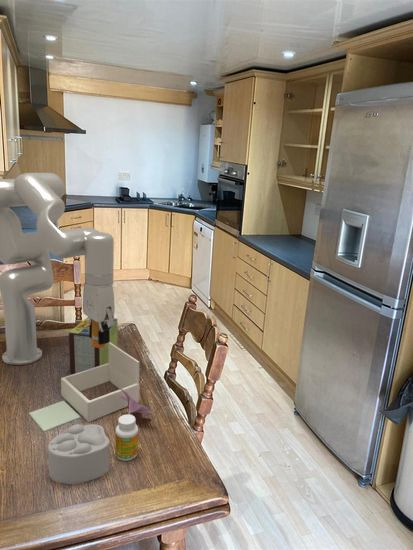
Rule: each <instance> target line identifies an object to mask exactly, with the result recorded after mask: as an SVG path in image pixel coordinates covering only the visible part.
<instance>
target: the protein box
mask: <svg viewBox="0 0 413 550" xmlns="http://www.w3.org/2000/svg"><path fill="white" fill-rule="evenodd" d="M113 320H114V323H115V325H114V326H112V327H111V330H110V341H109V343H112V344H113V345H115V346H116V347H118V340H119V339H118V332H119V331H118V327H119V325H118V321H119V319H118V318H115V317H114V319H113ZM88 321H89V318H88V316H87V317H86V318H84V320H82V321H80V322H79V323H78V324H77V325H76V326H74V327H73V328H72V329H71V330H70V331H69V332H68V342H69V343H68V346H69V347H68V348H69V349H68V350H69V351H68V352H69V367H70V368H69V372H70V373H69V376H70V375H73V374H76V373H79V372H82V371H85V370H89V369H92V368H95V367H98V366H101V365H104V364H107V363H109V350H108V343H106V345H105V346H104V347H103V348H96V347H92V338H90V337H89V322H88ZM118 348H119V347H118Z"/></svg>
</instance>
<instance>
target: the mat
mask: <svg viewBox="0 0 413 550" xmlns="http://www.w3.org/2000/svg"><path fill="white" fill-rule="evenodd" d="M28 415H29V416H30V418H32V420H33V421H34V423H36V424H37V426H38V427H39V428H40V429H41V431H42V432H43V433H46V432H48V431H51V430H53V429H56V428H59V427H60V426H64V425H66V424H68V423H72V422H74V421H76V420H79V419H81V416H80V415H79V414H78V413H77V412H76V411H75V410H74V408H72V406H71V405H70V404H68V403H67V401H65V400H61V401H58V402H56V403H53V404H50V405H47V406H45V407H42V408H39V409H36V410H34V411H30V412H28Z"/></svg>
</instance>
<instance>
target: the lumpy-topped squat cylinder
mask: <svg viewBox="0 0 413 550" xmlns="http://www.w3.org/2000/svg"><path fill="white" fill-rule="evenodd" d="M110 446H111V445H110V439H109V437H108V436H107V435H106V433H105V429H104V427H103V426H102V425H100V424H96V423H95V424H92V423H91V424H86V425H82V424H79V423H78V424H73V425H71V426H70V427H68V429H66V430H64V431H62V432H61V433H59V434H57V435H56V436H55V437H54V438H52V439H51V440H50V442H49V443H48V446H47V456H48V457H47V459H48V460H47V461H48V476H49V477H50V479H51V480H52V481H54V482H56V483H59V484H63V485H65V484H67V485H77V484H83V483H85V482H89V481H92V480H95V479H98V478H101V477H103V476H104V475H106V474H107V473H108V472H109V470H110V467H111V464H110V462H111V460H110V459H111V457H110V456H111V455H110V453H111V451H110V450H111V447H110Z"/></svg>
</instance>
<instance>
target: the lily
mask: <svg viewBox="0 0 413 550" xmlns="http://www.w3.org/2000/svg"><path fill="white" fill-rule="evenodd" d="M120 389H121V388H120ZM120 389H119V390H120ZM121 390H122V389H121ZM122 392H123V393H124V394H125V396H126V398H127V400H126V398H125V397H122V396H120V397H121V398H123V399H124V400H126V401H128V402H127V403H128V406H127V407H128V413H127V414H129V415H131V414H132V413H139V414H143V415H144V416H146V417H147V418H148V419H149V420H151V421H152V419H151V418H150V416H149V415H148V414H147V413H150V414H153V415H155V413H154V412H153V411H152V410H150V408H148V407H147V406H145V405H143V404H140V400H139V401H138V400H137V401H138V402H137V401H135V400H134V399H132V398H131V397H130V395H129V394H128V393H126V392H125V391H124V390H122Z"/></svg>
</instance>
